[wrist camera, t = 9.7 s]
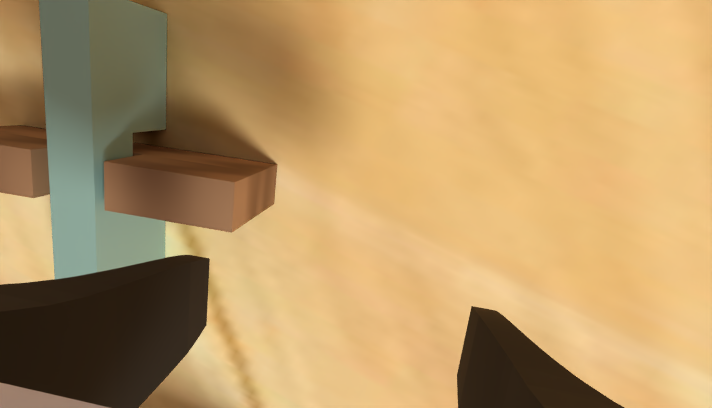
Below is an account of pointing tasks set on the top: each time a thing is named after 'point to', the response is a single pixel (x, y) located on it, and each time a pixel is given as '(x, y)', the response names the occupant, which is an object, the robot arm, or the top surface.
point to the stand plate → (151, 181)
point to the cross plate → (99, 125)
